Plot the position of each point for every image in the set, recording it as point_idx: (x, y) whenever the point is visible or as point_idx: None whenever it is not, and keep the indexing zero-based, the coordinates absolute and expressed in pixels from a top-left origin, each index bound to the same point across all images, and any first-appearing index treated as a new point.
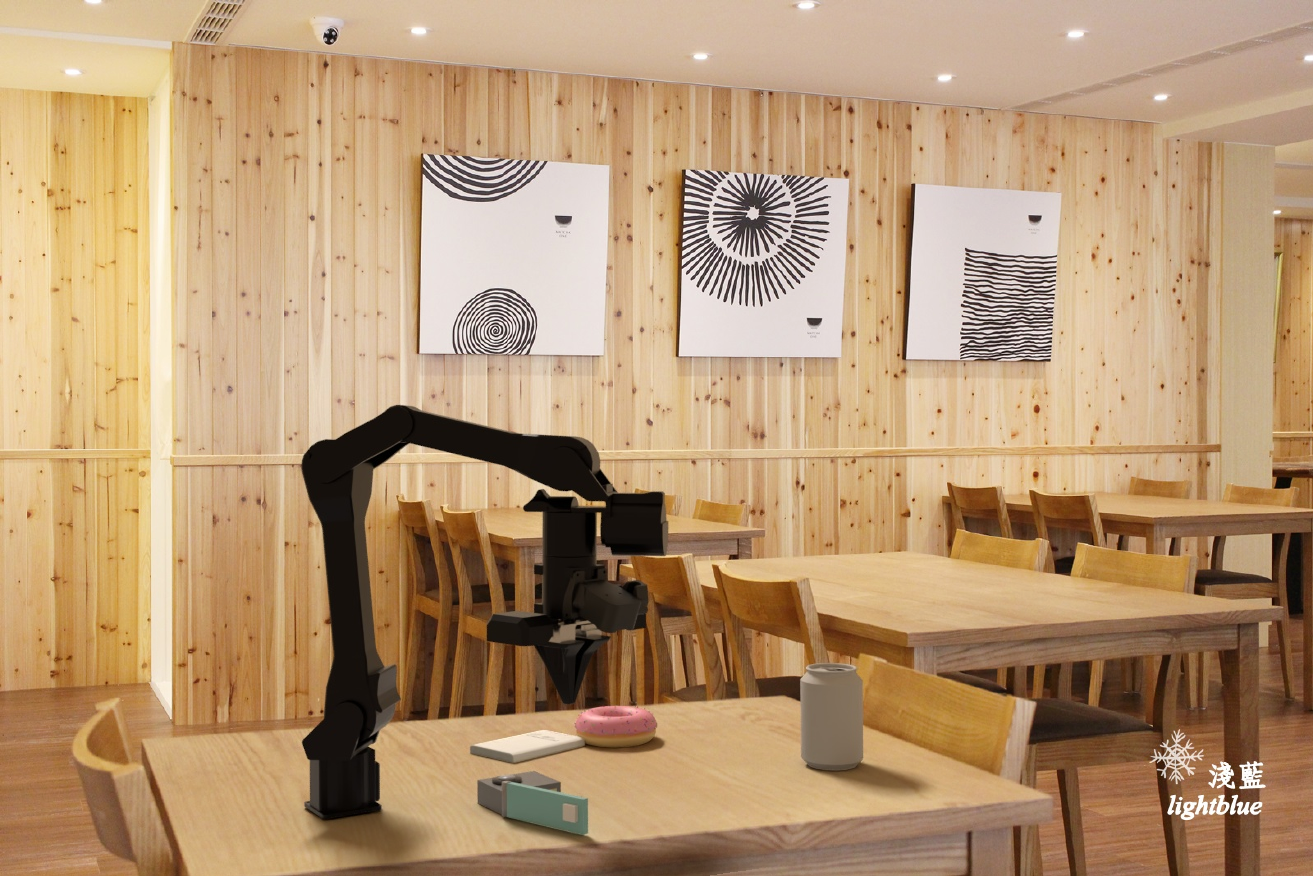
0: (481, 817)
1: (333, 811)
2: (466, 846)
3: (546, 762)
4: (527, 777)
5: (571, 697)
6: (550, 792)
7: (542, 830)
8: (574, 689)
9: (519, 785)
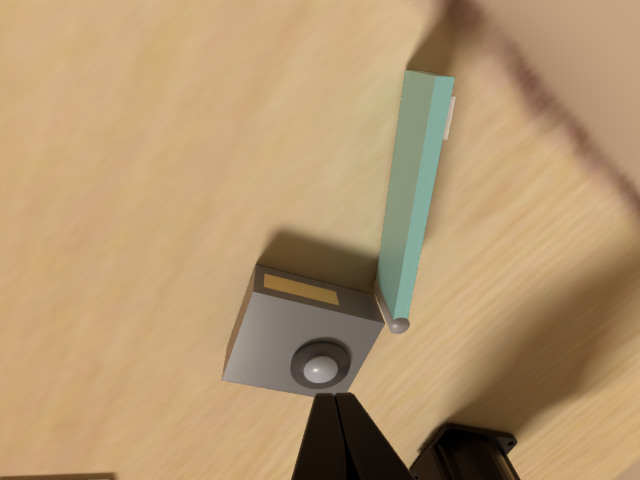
0: None
1: (498, 445)
2: (556, 220)
3: (58, 455)
4: (270, 358)
5: (354, 415)
6: (429, 198)
7: None
8: (343, 451)
9: (410, 289)
